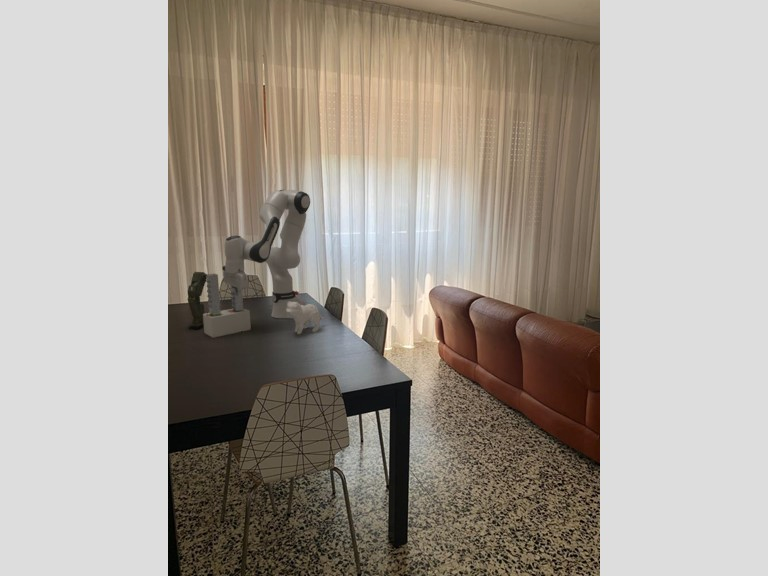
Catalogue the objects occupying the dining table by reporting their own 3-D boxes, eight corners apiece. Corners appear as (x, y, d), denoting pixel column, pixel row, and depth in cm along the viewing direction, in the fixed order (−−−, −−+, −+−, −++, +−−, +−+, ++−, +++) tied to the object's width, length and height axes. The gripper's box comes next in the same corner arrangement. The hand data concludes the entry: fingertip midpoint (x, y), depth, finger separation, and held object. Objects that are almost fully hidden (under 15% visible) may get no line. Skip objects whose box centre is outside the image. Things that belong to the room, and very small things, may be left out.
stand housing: (241, 325, 236) (240, 306, 234) (250, 329, 229) (249, 309, 227) (204, 333, 223) (202, 312, 220) (212, 337, 215) (211, 316, 213)
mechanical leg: (194, 330, 223) (198, 271, 224) (182, 329, 225) (186, 270, 226) (210, 329, 237) (214, 273, 238) (198, 328, 238) (202, 272, 239)
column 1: (217, 316, 223) (214, 273, 218) (220, 318, 220) (217, 274, 215) (208, 318, 220) (205, 274, 215) (212, 319, 217) (208, 275, 212)
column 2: (240, 326, 233) (238, 286, 228) (244, 328, 230) (241, 287, 225) (232, 328, 230) (229, 287, 225) (236, 330, 227) (233, 288, 222)
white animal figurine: (316, 323, 241) (315, 293, 237) (330, 327, 234) (329, 296, 231) (279, 334, 222) (278, 302, 218) (293, 338, 215) (292, 305, 212)
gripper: (250, 270, 218) (252, 297, 221) (232, 265, 232) (233, 290, 235) (238, 271, 214) (240, 299, 217) (220, 266, 228) (222, 292, 231)
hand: (236, 295), depth 226 cm, fingers closed on column 2, 4 cm apart
